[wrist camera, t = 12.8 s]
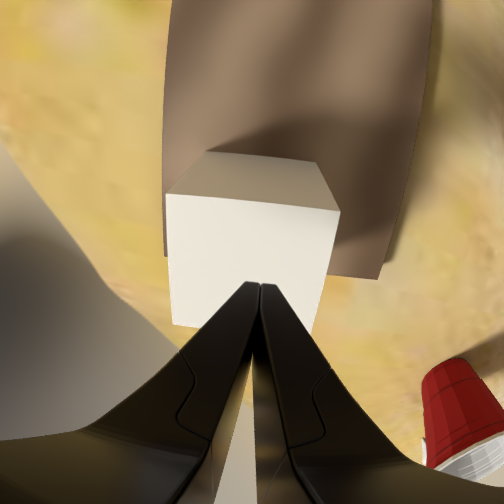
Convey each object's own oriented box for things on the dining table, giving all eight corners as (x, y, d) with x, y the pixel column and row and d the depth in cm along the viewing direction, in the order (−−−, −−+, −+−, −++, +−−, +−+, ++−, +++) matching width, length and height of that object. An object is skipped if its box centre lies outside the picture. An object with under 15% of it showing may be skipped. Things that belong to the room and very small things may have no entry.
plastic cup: (484, 320, 24) (538, 420, 13) (488, 374, 28) (522, 455, 17) (386, 372, 27) (412, 484, 17) (409, 414, 31) (428, 501, 21)
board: (422, -6, 12) (432, -11, 11) (371, 267, 21) (377, 279, 20) (186, -41, 12) (179, -49, 11) (170, 245, 22) (164, 256, 20)
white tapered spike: (438, 459, 40) (440, 468, 38) (425, 465, 41) (426, 473, 39) (429, 430, 35) (431, 440, 33) (412, 436, 36) (414, 447, 34)
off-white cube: (315, 162, 17) (340, 211, 11) (299, 257, 20) (309, 339, 14) (205, 151, 17) (165, 193, 11) (202, 247, 20) (172, 324, 14)
